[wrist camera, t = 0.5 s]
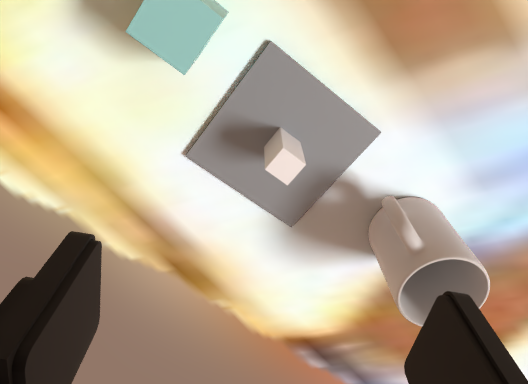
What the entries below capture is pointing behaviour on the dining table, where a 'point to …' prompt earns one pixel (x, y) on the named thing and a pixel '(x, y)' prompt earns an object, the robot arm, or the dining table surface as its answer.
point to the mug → (423, 257)
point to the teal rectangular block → (176, 28)
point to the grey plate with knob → (282, 137)
